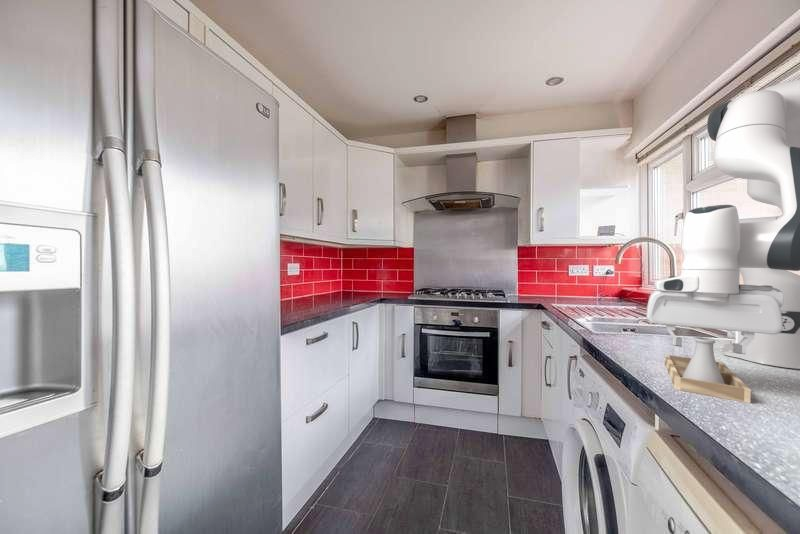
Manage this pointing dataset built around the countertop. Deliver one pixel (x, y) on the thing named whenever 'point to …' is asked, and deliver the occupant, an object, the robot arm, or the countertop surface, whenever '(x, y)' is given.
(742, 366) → the countertop surface
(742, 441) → the countertop surface
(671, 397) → the countertop surface
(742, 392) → the oak caddy
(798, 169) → the robot arm
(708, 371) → the flask
